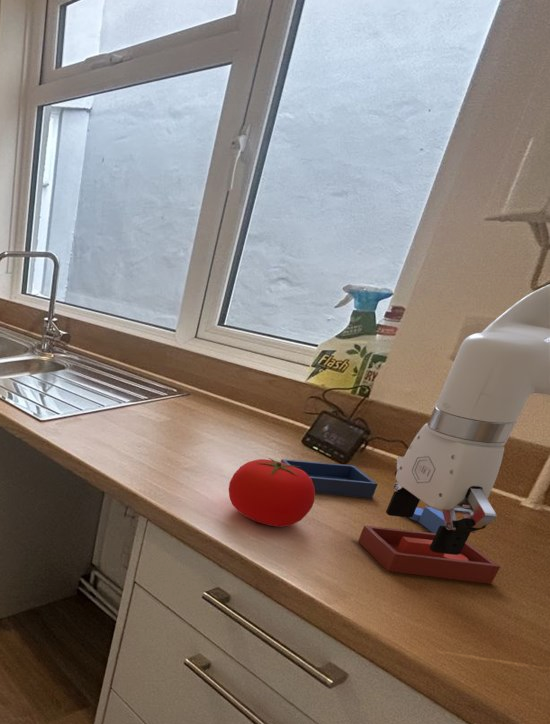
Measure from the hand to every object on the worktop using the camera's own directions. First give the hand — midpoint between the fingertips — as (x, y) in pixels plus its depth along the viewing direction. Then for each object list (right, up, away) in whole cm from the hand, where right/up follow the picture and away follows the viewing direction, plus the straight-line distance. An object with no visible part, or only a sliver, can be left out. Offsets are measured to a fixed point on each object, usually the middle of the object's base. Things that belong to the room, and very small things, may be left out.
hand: (419, 532), depth 77 cm
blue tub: (+6, +4, +23) cm, 24 cm away
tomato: (-14, 0, +13) cm, 19 cm away
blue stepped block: (+12, -1, +10) cm, 16 cm away
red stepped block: (+3, -4, +1) cm, 5 cm away
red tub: (+2, -5, +1) cm, 5 cm away
